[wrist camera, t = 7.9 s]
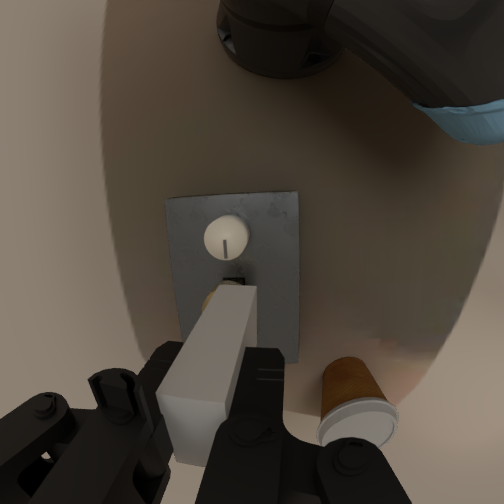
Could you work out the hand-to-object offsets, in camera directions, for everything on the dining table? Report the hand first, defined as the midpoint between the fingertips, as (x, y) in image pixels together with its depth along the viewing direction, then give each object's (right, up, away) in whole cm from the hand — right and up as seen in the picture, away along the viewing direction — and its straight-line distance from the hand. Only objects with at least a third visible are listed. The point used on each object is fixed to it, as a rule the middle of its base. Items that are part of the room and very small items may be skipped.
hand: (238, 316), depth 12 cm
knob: (-1, +5, +21) cm, 22 cm away
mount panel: (-1, -1, +23) cm, 23 cm away
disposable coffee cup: (+13, -14, +25) cm, 32 cm away
